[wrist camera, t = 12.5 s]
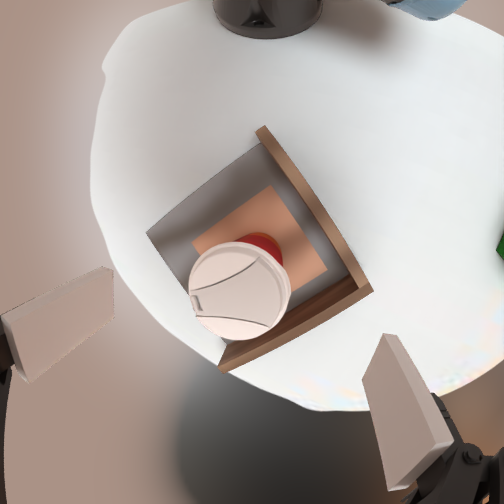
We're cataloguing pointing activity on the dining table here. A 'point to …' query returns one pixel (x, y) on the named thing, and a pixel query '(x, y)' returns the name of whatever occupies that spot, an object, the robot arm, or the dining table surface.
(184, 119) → the dining table surface
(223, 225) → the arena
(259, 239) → the paper cup
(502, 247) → the milk carton
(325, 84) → the dining table surface
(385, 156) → the dining table surface
